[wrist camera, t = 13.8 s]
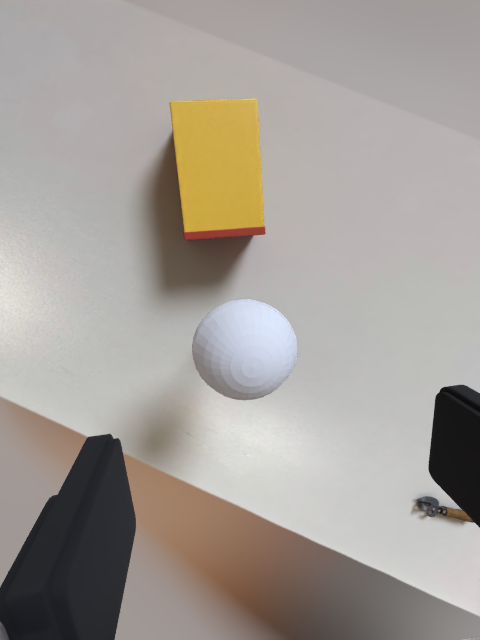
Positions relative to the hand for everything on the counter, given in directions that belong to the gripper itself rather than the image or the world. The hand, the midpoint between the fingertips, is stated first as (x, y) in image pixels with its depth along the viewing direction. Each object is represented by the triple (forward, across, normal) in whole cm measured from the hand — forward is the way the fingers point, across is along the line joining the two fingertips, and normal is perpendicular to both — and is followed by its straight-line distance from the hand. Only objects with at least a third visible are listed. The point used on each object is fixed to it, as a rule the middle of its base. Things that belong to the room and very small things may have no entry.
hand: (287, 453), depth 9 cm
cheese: (+22, 0, -10) cm, 25 cm away
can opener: (+22, -25, +29) cm, 44 cm away
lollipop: (+22, 0, +1) cm, 22 cm away
